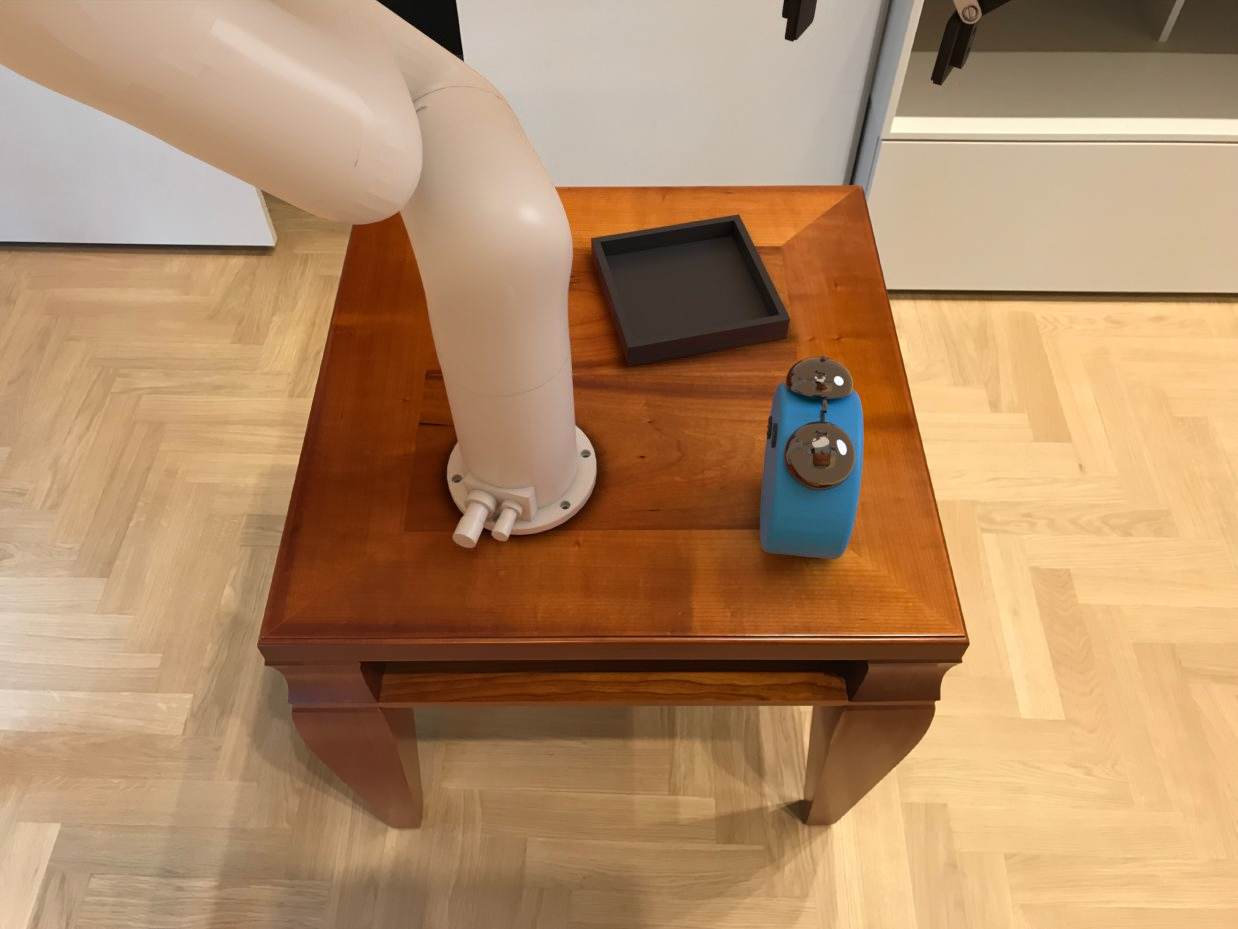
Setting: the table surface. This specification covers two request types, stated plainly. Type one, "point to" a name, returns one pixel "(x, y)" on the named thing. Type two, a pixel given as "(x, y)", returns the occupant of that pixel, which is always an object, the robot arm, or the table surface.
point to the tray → (687, 290)
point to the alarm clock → (812, 462)
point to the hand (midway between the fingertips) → (869, 52)
